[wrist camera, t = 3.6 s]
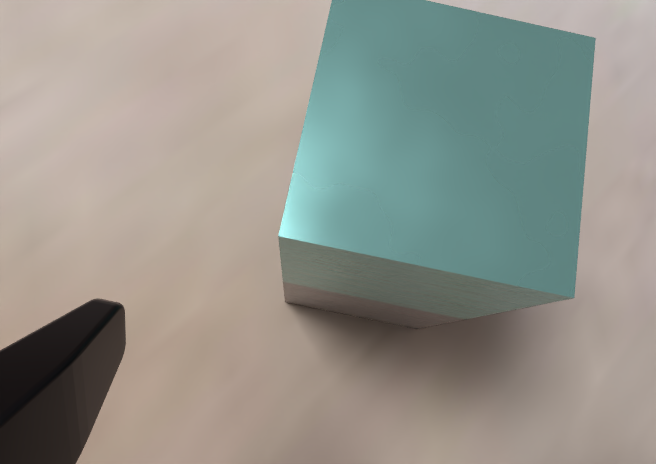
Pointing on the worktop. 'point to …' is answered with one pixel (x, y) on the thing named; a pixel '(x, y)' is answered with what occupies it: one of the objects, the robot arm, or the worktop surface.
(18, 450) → the robot arm
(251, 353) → the worktop surface
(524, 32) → the teal block grey base
